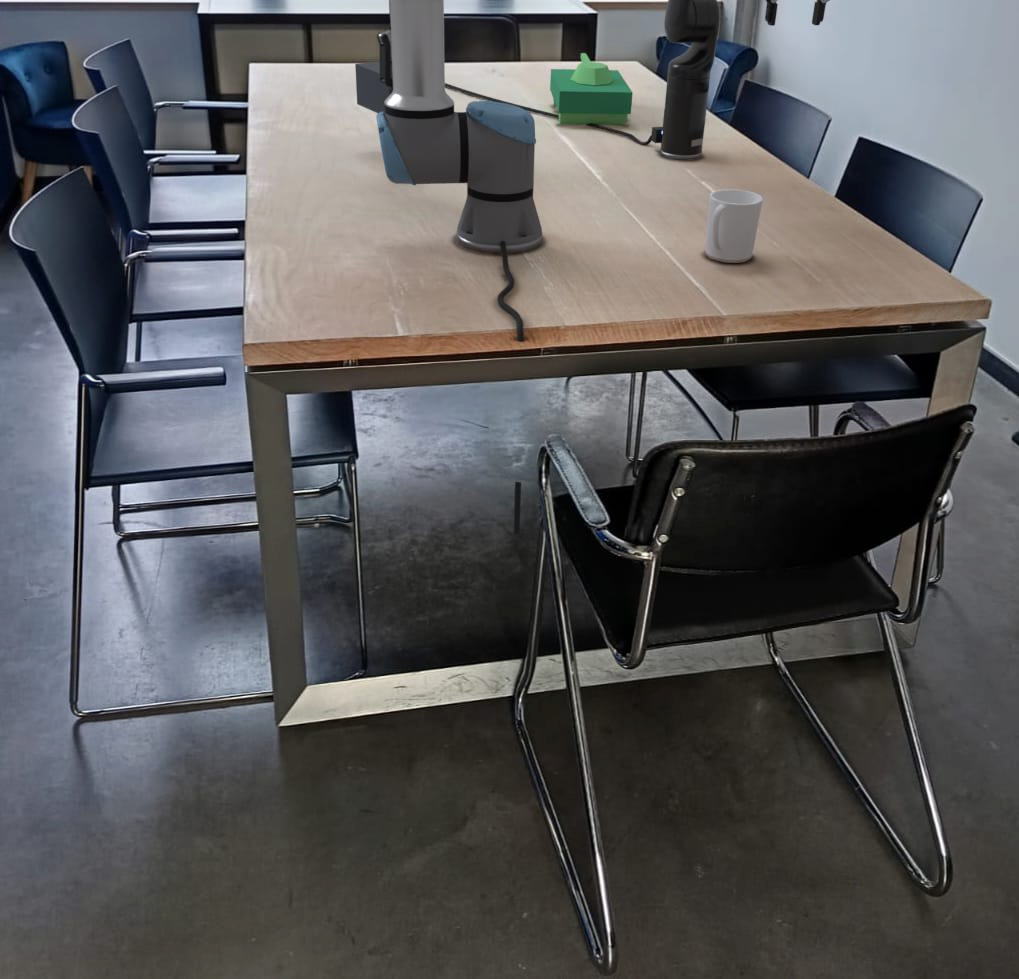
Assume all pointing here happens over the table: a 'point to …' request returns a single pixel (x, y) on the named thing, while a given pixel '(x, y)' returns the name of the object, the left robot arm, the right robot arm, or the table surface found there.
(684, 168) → the table surface
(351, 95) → the table surface
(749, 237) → the mug
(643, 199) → the table surface
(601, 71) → the toy tank
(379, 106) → the bar
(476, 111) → the left robot arm
